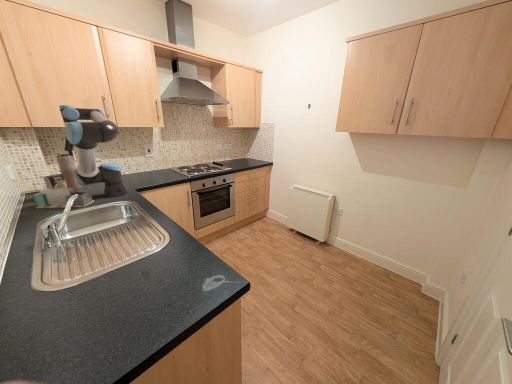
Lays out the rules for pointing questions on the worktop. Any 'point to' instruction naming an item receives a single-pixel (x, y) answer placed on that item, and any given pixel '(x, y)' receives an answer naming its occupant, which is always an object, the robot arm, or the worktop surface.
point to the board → (61, 206)
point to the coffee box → (55, 181)
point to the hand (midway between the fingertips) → (81, 158)
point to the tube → (57, 195)
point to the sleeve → (81, 198)
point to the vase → (68, 170)
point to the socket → (39, 200)
